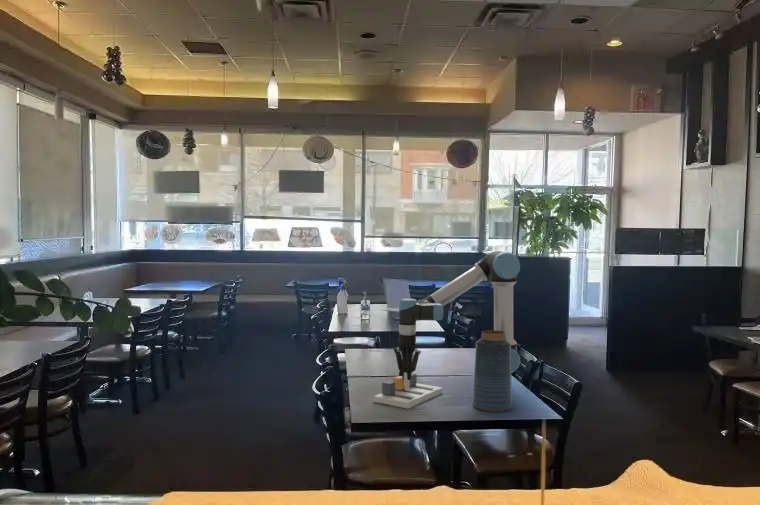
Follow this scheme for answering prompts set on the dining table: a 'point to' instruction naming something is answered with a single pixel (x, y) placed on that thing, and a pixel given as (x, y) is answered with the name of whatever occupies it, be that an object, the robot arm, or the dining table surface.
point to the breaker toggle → (399, 383)
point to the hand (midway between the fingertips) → (406, 386)
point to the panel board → (406, 393)
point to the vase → (492, 372)
